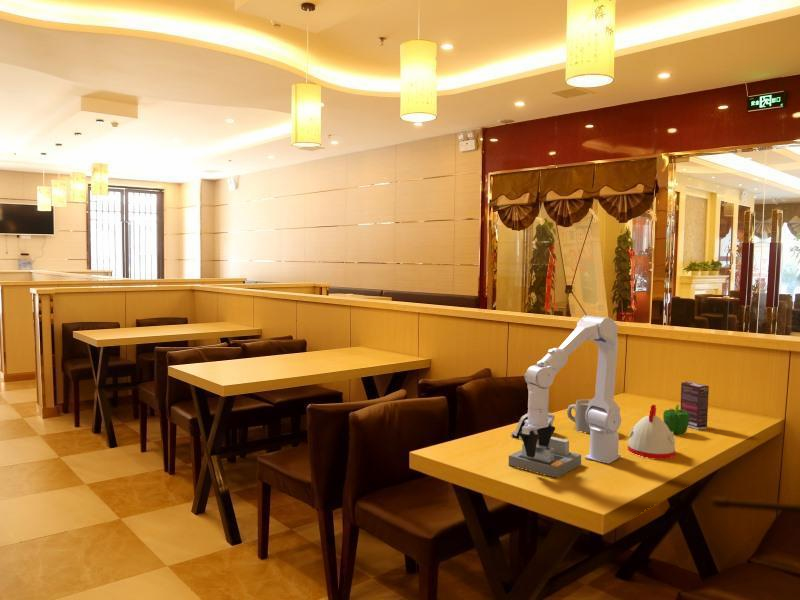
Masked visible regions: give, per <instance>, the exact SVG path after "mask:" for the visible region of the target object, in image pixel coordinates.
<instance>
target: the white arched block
mask: <svg viewBox="0 0 800 600" xmlns="http://www.w3.org/2000/svg"><path fill="white" fill-rule="evenodd" d="M548 417H549V418H553V422H554V420H555V415H554V414H553V413H552V412H550V411H549V410H548ZM525 420H528V412H527V413H525V414H524V415H522V416H521V417H520V419H519V420H518V423H517V426H516V427H515V430H514V431H512V432H511V433H510V437H511V438H512V437H518V439H519V440H521V441H523V440H522V438H521V437H520V431H522V427H523V426H524V425H525V424H526V423H524V421H525ZM553 425H554V423H553V424H552V425H550V426H553ZM534 433H535V434H537V435H538V433H537V430H535V431H534Z"/></svg>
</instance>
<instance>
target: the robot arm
mask: <svg viewBox="0 0 800 600" xmlns="http://www.w3.org/2000/svg"><path fill="white" fill-rule="evenodd" d="M618 328H619V324H618V323H617V322H615V320H614V319H613V318H611V317H604V316H603V317H602V316H596V315H595V316H594V315H590V314H589V315H587V314H585V315H584V316H583V317H582V318H581V319H580V320H578V321H577V323H576V327H575V329H574V330H573V331H572V332H571V333H570V334H569V336H568V337H567V338H566V339H565V340H564V341H563V342H562V343H561V345H560V346H559V347H553V348H550V349H548V350H547V353H546V354H545V356H543V357H542V358H541V359H540V360H539V361H537V363H536V364H534V365H531V366H529V367H528V368H527V370H526V371H525V374H524V375H523V378H524V380H525V383H526V384H527V390H528V398H527V399H528V400H527V401H528V402H527V408H528V409H527V413H528V420H525V421H524V423H526V424H525V425H524V426H523V427H522V431H520V437H521V438H522V440H521V441H522V442H523V443H522V444H524V446H525V450H526V454H527V456H528V457H532V458H534V456H535V452H536V445H538V438H539V445H541V446H546V447H548V446H549V442H550V439H551V437H553V434H554V432H555V431H556V426H553V425H554V421H553V418H549V417H548V411H549V399H550V398H549V396H550V395H549V394H550V393H549V389H550V386H552V384H553V383H554V380H555V376H556V375H557V373H558V372H559V371H560V370H561V369H563V367H564V366H565V365H566V364H567V363H568V360H569V359H568V356H570V355H571V354H572V353H573V352H574V351H575V350H577V349H578V348H579V347H580V346H581V345H582V344H584V342H586V341H591V340H592V341H593V342H594V343H595V344H596V345H597V346H598V354H597V355H598V356H597V365H596V366H597V367H596V380H595V381H596V382H595V392H594V397H592V399H590V400H591V401H589V405H588V409H587V411H586V414H585V419H586V421H587V423H588V424H589V428H590V435H589V453H588V454H586V455H584V457H583V458H584V459H587V460H591V461H595V462H599V463H604V464H611V463H612V462H614V461H616V460H617V459H620V458H621V457H622V455H621V454H619V443H620V442H619V441H620V440H619V438H620V437H619V433H618V430H619V429H620V427H621V423H622V417H621V416H622V415H621V407H620V406H619V404H617V402H616V401H615V399H614V398H615V387H616V374H617V363H618V362H617V361H618V353H619V352H618V351H619V338H618V330H619V329H618ZM552 424H553V425H552ZM550 425H552V426H550ZM535 430H537V433H538V435H537V434H535V433H534V431H535Z"/></svg>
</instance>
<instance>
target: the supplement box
mask: <svg viewBox="0 0 800 600" xmlns="http://www.w3.org/2000/svg"><path fill="white" fill-rule="evenodd" d="M680 385H681V386H680V407H679V408H680V409H679V410H682V411H685V412H688V413H689V424H688V427H687V428H691V429H694V430H696V431H700V430H708V412H709V411H708V409H709V393H710V392H709V390H710V388H709V387H710V386H709V385H706V384H701V383H697V382H693V381H685V382H684V381H683V382H681V384H680Z"/></svg>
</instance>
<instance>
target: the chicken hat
mask: <svg viewBox="0 0 800 600" xmlns="http://www.w3.org/2000/svg"><path fill="white" fill-rule="evenodd" d="M656 413H657V407H656V404H651V406H650V410H649V415H645V416H644V417H642V418H641V419H639V420H638V422H636V424H635V425H633V426H632V427H631V429H630V431H629V436H628V438H629V439H628V444H627V451H628V450H629V451H630V452H632V453H634V454H633V455H635V454H637V455H640V456H639V457H641V456H643V457H642V458H645V457H648V458H647V459H652V458H654V460H655V459H656V460H666V459H667V460H668V459H672V458H674V457H675V456H676V447H675V446H676V445H675V444H676V443H675V434H673V432H670V430H669V428H668V426H667V425H666V424H665V422H664V420H663V419H662V418H660V417H659V416H657V415H656ZM629 451H628V452H629ZM630 452H629V453H630ZM632 453H631V454H632ZM637 455H636V456H637ZM671 457H672V458H671Z"/></svg>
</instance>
